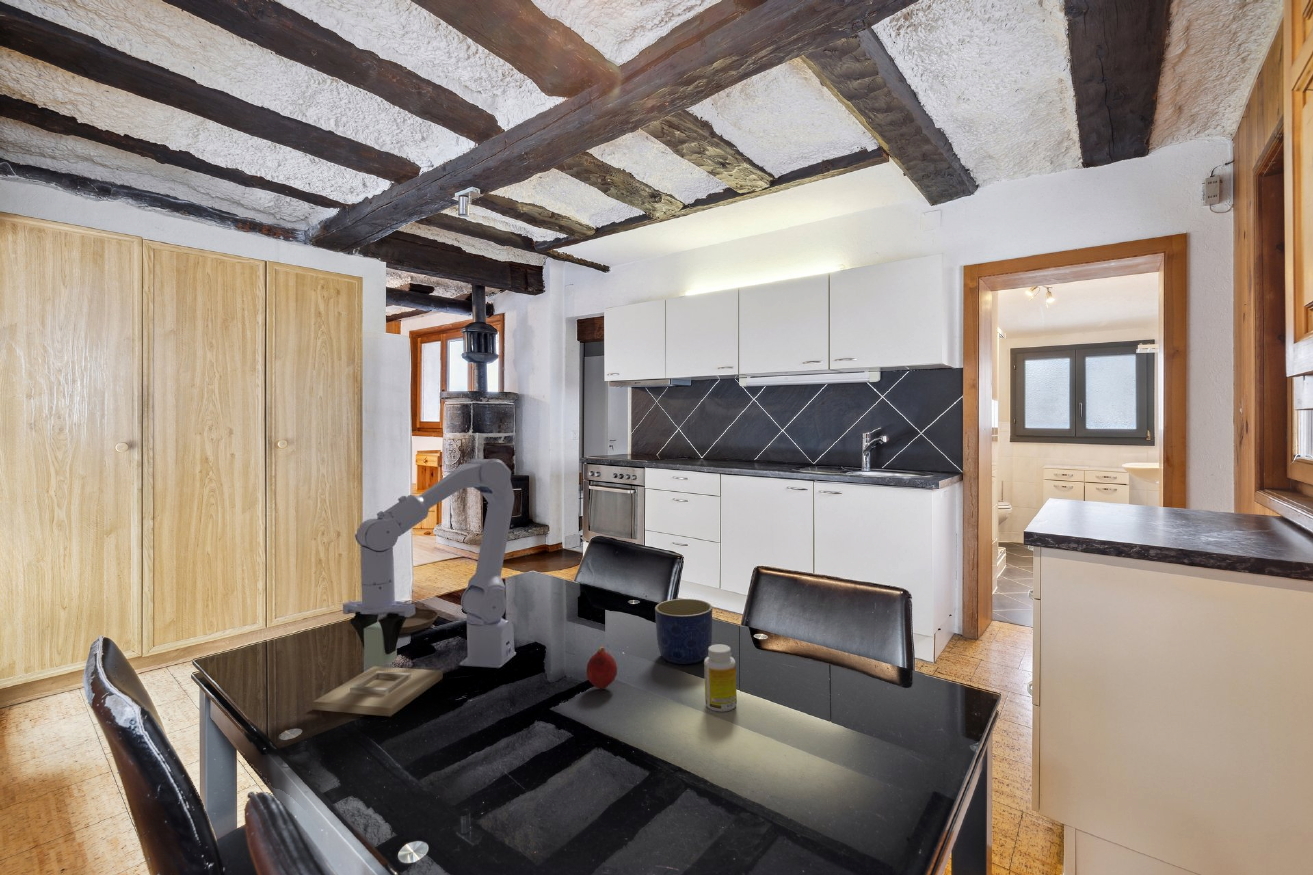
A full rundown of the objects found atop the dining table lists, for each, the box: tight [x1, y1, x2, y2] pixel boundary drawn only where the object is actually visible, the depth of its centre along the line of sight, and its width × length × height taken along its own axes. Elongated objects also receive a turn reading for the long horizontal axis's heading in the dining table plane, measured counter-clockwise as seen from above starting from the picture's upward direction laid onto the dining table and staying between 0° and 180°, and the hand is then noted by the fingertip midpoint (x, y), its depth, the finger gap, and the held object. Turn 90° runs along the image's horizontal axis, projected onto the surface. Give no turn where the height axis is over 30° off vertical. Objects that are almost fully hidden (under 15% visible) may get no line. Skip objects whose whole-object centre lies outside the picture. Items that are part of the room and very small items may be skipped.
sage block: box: [363, 622, 398, 667], centre depth 111 cm, size 4×4×7 cm
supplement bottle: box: [703, 643, 738, 713], centre depth 102 cm, size 6×6×10 cm
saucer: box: [377, 608, 439, 635], centre depth 151 cm, size 15×15×3 cm
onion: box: [586, 646, 618, 691], centre depth 110 cm, size 6×6×8 cm
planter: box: [654, 598, 713, 665], centre depth 125 cm, size 12×12×11 cm
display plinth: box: [312, 666, 444, 717], centre depth 111 cm, size 16×16×2 cm
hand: (380, 651), depth 111 cm, fingers closed on sage block, 4 cm apart
